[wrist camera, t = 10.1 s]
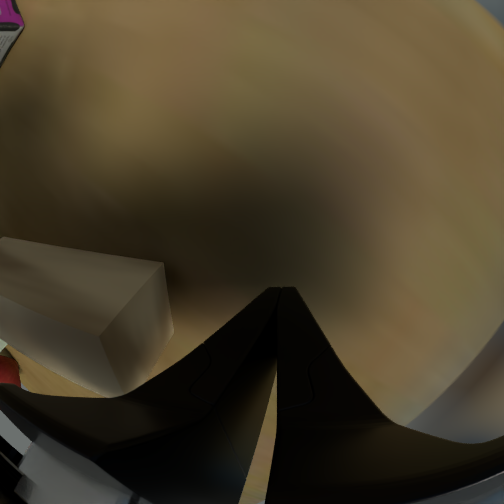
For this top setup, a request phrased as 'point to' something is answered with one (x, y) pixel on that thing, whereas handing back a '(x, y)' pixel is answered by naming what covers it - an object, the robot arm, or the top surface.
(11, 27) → the candy bar box
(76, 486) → the robot arm
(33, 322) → the oak slat
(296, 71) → the top surface
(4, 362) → the onion
